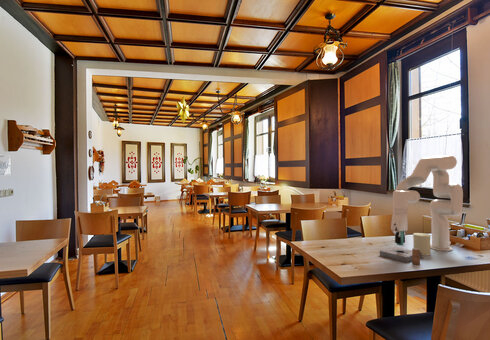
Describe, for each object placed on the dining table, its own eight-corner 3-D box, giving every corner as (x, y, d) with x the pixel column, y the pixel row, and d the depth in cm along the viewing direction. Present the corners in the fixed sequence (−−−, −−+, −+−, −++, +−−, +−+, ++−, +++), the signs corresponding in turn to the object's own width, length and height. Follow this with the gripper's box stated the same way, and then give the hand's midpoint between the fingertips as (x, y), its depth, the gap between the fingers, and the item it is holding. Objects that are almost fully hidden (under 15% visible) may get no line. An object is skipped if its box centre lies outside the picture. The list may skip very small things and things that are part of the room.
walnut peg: (414, 262, 159) (414, 248, 159) (421, 264, 156) (421, 249, 156) (411, 263, 157) (411, 249, 157) (417, 265, 154) (417, 250, 154)
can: (422, 256, 171) (422, 235, 171) (409, 251, 180) (409, 232, 180) (434, 254, 173) (434, 234, 174) (421, 250, 182) (421, 231, 182)
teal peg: (398, 243, 172) (398, 230, 172) (404, 245, 169) (404, 231, 169) (395, 244, 170) (395, 230, 170) (401, 245, 167) (401, 231, 167)
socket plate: (395, 251, 181) (395, 246, 181) (421, 257, 167) (421, 252, 167) (379, 255, 172) (379, 250, 172) (406, 262, 159) (406, 257, 159)
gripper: (401, 210, 177) (401, 240, 177) (385, 211, 169) (385, 243, 168) (414, 211, 171) (414, 242, 171) (398, 213, 162) (398, 246, 162)
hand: (399, 242), depth 170 cm, fingers closed on teal peg, 3 cm apart
